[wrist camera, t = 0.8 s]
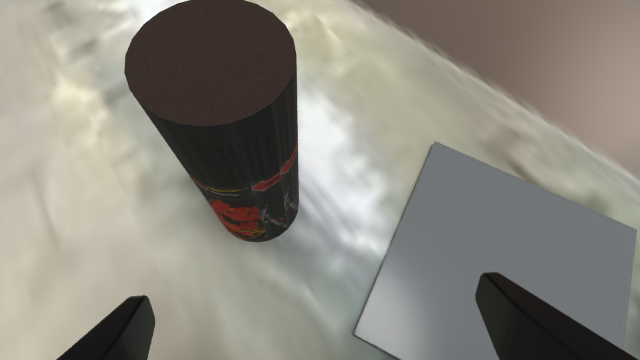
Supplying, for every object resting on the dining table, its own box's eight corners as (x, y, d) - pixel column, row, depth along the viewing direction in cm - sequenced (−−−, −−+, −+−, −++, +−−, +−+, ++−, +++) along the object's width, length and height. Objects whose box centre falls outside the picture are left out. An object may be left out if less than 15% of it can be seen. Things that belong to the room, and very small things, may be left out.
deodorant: (315, 201, 26) (330, 55, 13) (257, 259, 24) (200, 160, 11) (260, 153, 28) (220, -25, 14) (201, 204, 26) (88, 55, 12)
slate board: (601, 468, 20) (609, 472, 20) (352, 334, 23) (354, 334, 22) (629, 231, 27) (636, 229, 26) (432, 144, 29) (435, 141, 28)
